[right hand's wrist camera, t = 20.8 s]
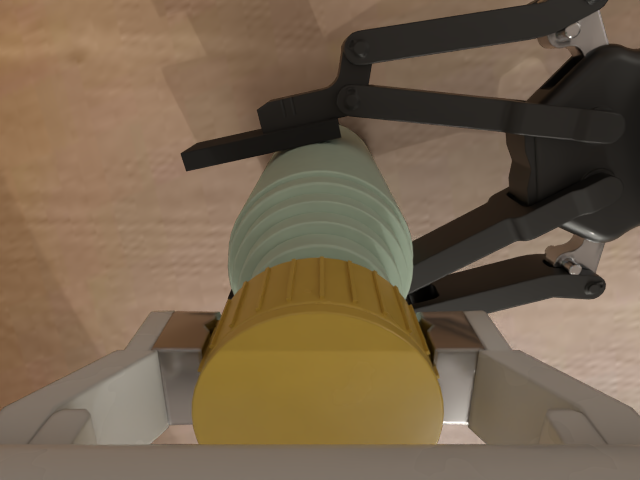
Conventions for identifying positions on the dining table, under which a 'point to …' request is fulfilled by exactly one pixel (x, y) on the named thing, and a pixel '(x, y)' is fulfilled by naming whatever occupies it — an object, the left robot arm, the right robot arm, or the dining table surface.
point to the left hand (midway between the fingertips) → (215, 228)
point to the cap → (317, 362)
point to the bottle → (322, 214)
